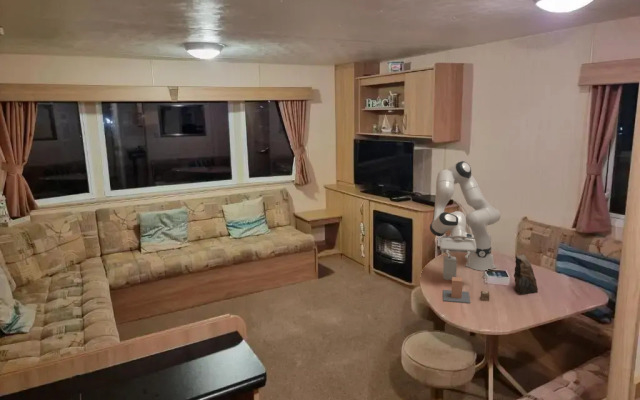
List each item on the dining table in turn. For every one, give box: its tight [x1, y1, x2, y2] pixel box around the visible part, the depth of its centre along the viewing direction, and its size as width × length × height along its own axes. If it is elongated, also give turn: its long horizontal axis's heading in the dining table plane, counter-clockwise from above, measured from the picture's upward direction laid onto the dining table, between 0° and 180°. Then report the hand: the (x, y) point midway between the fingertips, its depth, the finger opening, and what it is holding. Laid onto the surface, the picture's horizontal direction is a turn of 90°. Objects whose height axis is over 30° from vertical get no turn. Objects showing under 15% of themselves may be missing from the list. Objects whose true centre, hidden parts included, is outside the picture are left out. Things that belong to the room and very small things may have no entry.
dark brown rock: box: [513, 253, 539, 296], centre depth 246 cm, size 13×13×20 cm
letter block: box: [480, 290, 490, 302], centre depth 237 cm, size 4×4×4 cm
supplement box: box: [442, 255, 458, 281], centre depth 267 cm, size 7×7×13 cm
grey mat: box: [442, 289, 471, 304], centre depth 241 cm, size 14×14×1 cm
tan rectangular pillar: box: [451, 276, 463, 298], centre depth 240 cm, size 5×5×10 cm
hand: (457, 258), depth 249 cm, fingers open, 8 cm apart
